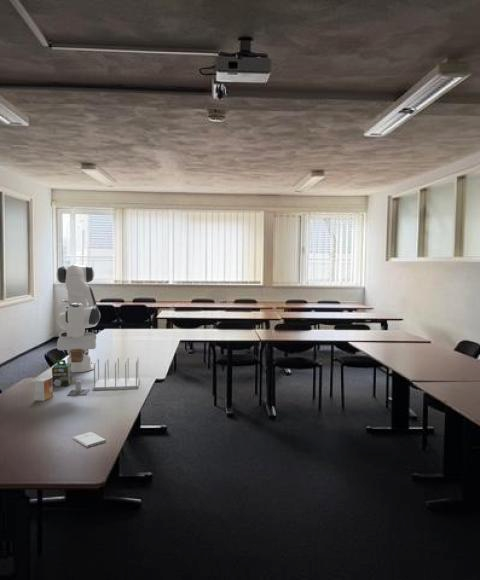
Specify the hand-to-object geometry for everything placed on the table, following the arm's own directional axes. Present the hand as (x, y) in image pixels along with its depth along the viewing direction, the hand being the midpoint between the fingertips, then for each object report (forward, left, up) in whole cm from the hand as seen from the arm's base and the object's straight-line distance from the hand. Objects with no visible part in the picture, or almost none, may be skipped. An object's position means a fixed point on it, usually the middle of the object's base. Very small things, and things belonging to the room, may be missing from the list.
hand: (77, 357), depth 258 cm
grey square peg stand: (0, 0, -20) cm, 20 cm away
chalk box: (-19, -13, -20) cm, 30 cm away
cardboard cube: (0, 0, -2) cm, 2 cm away
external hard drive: (+69, +18, -21) cm, 75 cm away
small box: (+8, -16, -20) cm, 27 cm away
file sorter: (-13, +19, -20) cm, 31 cm away
